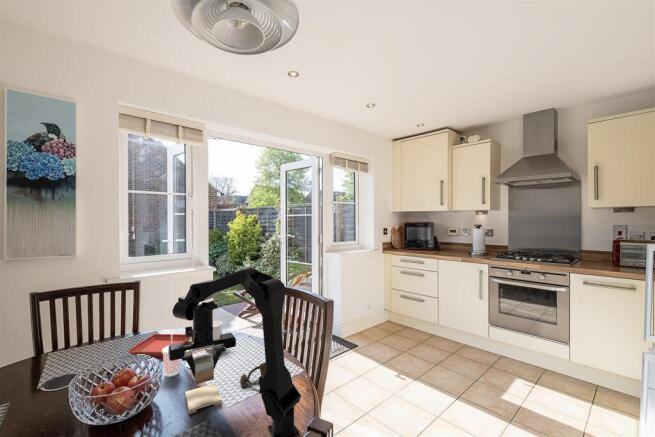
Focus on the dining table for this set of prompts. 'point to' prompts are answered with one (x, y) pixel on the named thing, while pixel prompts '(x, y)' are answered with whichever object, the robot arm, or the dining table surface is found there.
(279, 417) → the robot arm
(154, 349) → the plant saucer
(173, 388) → the dining table surface
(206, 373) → the housing
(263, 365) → the brown looped cylinder
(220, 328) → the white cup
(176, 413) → the dining table surface
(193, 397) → the cream slab
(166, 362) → the beverage cup
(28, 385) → the dining table surface
